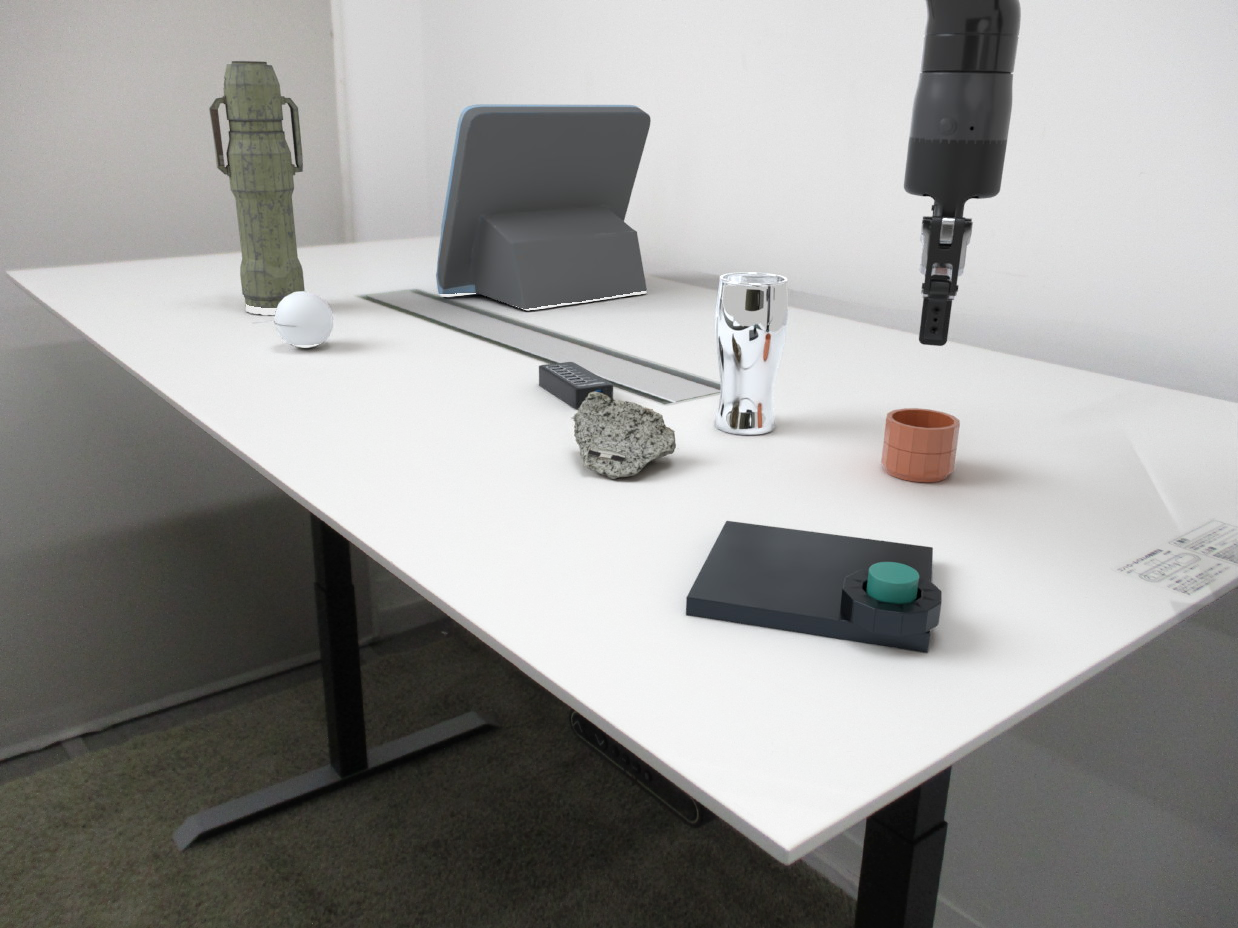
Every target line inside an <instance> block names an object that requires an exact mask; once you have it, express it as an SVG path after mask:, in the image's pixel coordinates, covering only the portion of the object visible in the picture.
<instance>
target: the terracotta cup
mask: <svg viewBox="0 0 1238 928" xmlns="http://www.w3.org/2000/svg"><path fill="white" fill-rule="evenodd" d="M884 425H885V426H884V436H883V444H882V453H881V461H880V462H881V465H882V466H883V467H884V468H885V471H886V473H888V475H890V476H892V477H894V478H897V479H900V480H903V481H907V482H914V483H936V482H940V481H944V480H945V479H947V478H948V476H949V475H950V474H951V473H953V472H954V470H955V463H956V455H957V447H958V440H959V435H960V434H959V433H960V426H961V421H960V419H958V418H957V417H956V416H954V415H953V414H950V413H946V412H943V411H940V410H936V409H935V410H934V409H928V408H917V407H912V408H909V407H907V408H898V409H893V410H891V411H889V412H887V413H886V417H885V424H884Z"/></svg>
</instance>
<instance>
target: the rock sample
mask: <svg viewBox="0 0 1238 928" xmlns="http://www.w3.org/2000/svg"><path fill="white" fill-rule="evenodd" d="M612 394H613V395H614V392H613V393H612ZM585 399H586V400H585V401H583V402H582V405H581V406H580V407H579V408H578V409H576V411H577V412H576V413H574V414H573V416H572V417H571V416H570V420H572V421H573V422H574V427H573V431H574V434H573V436H574V437H575V442H576V444H577V445H578V447H579V452H580V453H579V456H580V458H581V460H582V463H583V466H584V467H585V468H587V469H589V470H592V471H594V472H596V473H597V474H599V475H602V476H606V477H607V478H609V479H612V480H617V479H618V478H625V477H632V476H637V475H638V474H639V473H640V472H641V471H642V470H643V468H644V467H645V466H646V465H648V463H651V462H653V461H655V460H658V459H661V458H662V457H666V456H667V455H672V454H674V452H675V450H676V449H677V450H680V448H676V447H677V444H676V437H675V436H676V434H675V430H673V429H672V428H671V427H670V426H669V427H668V426H667V425H666V424H665V420H664V418H663V417H664V416H663V415H662V414H661V413H659V412H656V411H654V410H653V408H649V407H646V406H643V405H641V404H638V403H637V402H630V401H627V400H626V401H622V400H620V399H616V400H615V399H614V398H613V399H611V398H609V397H608V395H605V394H602V393H599V392H598V391H597V392H591V393H589V394H588V397H586V398H585Z"/></svg>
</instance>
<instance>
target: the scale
mask: <svg viewBox="0 0 1238 928" xmlns="http://www.w3.org/2000/svg"><path fill="white" fill-rule="evenodd" d="M933 555H934V548H933V547H932V546H926V545H918V544H911V543H910V544H909V543H902V542H895V541H888V540H880V539H871V538H864V537H856V536H847V535H842V534H841V535H840V534H833V533H825V532H819V531H810V530H802V529H795V528H788V527H787V528H786V527H780V526H771V525H765V524H756V523H747V522H741V521H733V520H732V521H731V520H726V521H725V522H724V525H723V527H722V528H721V529H720V532H719V534H718V536H717V537H716V540H715V542H714V544H713V546H712V547H711V549H710V551H709V554H708V556H707V557H706V559H705V561H704V563H703V565H702V567H701V569H700V571H699V572H698V575H697V576H696V578H695V580H694V582H693V584H692V586H691V588H690V590H689V592H688V593H687V596H686V598H685V599H686V601H685V616H688V617H693V618H694V617H695V618H700V619H705V620H706V619H707V620H713V621H720V622H727V623H733V624H738V625H744V626H745V625H746V626H751V627H758V628H765V629H770V630H778V631H783V632H790V633H796V634H803V635H807V636H808V635H809V636H814V637H815V636H817V637H822V638H828V639H833V640H841V641H847V642H854V643H860V644H867V645H873V646H880V647H885V648H892V649H898V650H903V651H904V650H905V651H909V652H911V651H912V652H918V653H923V654H928V653H929V647H930V641H931V640H930V639H931V631H932V630H933V629H935V628H936V627H938V626H939V623H940V617H941V610H942V604H943V603H942V602H943V601H942V600H943V598H942V595H943V594H942V590H941V589H940V588H939V587H938V586H936V584H934V583H933V563H934V562H933V561H934V560H933V559H934V558H933V557H934V556H933ZM880 562H895V563H901V564H904V565H907V566H910V567H912V568H913V569H915V570H916V571H917V572H918V574H919V582H918V590H917V597H916V600H915V601H914V602H912V603H902V604H897V603H890V602H884V601H880V600H877V599H875V598H872V597H870V596H869V595H868V594H867V582H868V573H869V568H870V567H871V566H872V565H873V564H876V563H880Z"/></svg>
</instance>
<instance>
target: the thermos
mask: <svg viewBox="0 0 1238 928" xmlns="http://www.w3.org/2000/svg"><path fill="white" fill-rule="evenodd" d="M223 79H224V81H223V82H224V83H223V89H222V90H223V95H222V97H216V98H214V100H213V102H212V103H211V105H210V106H209V107H208V112H209V117H210V123H211V124H210V125H211V130H212V138H213V145H214V153H215V162H216V163H215V164H216V168H217V170H219V171H220V172H221V173H222V174H224V175H225V176H227V177H228V179H229V187H230V191H231V193H232V194H233V196H234V202H235V207H236V208H235V209H236V217H237V225H238V234H239V243H240V252H241V263H240V267H239V269H240V270H239V276H240V285H241V294H242V295H243V297H244V304H245V303H246V304H247V305H249V306H254V307H261V308H277V306H278V304H279V303H280V302H281V301H282V299H283V298H284V297H286V296H288V295H290V294H291V293H293V292H299V291H306V290H305V279H304V270H303V265H302V264H301V262H300V259H299V256H298V246H297V235H296V225H295V215H294V214H295V213H294V206H293V205H294V204H293V194H294V191H295V181H294V176H296V173H302V172H303V171H304V159H303V157H304V156H303V147H302V136H301V125H300V115H299V114H300V113H299V107H298V106H297V104H296V103H295V102H294V100H293V99H292V98H291V97H285V96H284V95H282V93H281V85H280V82H279V79H278V76H277V74H276V71H275V70H274V67H273V65H272V64H268V62H267V61H252V60H231V63H229V64H228V63H227V64H226V65H225V71H224V76H223ZM221 104H223V105H224V106H225V113H226V120H227V121H228V127H229V130H228V132H227V133H228V143H227V149H226V154H225V155H226V161H227V165H226V164H225V156H224V149H223V141H222V133H221V125H220V124H221V123H220V115H219V108H220V105H221ZM286 104H287V105H288V107H289V112H290V121H291V133H292V141H293V152H294V153H293V154H294V163H295V164H294V163H293V161H292V160H293V159H292V151H291V149H290V147H289V145H288V142H287V140H286V134H285V133H286V132H285V130H283V129H284V128H283V121H284V113H283V112H284V111H283V106H284V105H286Z"/></svg>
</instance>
